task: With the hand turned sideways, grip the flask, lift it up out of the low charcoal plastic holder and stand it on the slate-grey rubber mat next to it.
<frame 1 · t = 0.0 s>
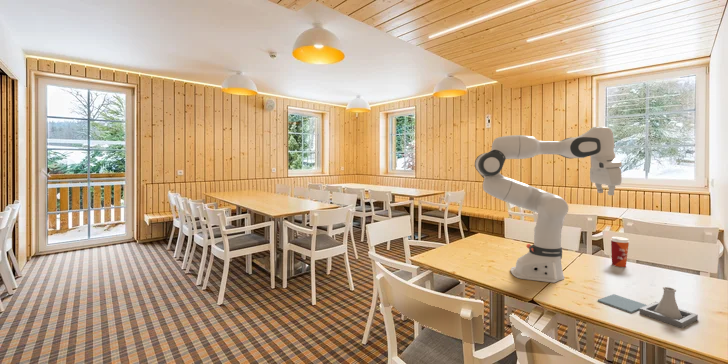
hand: (605, 194, 145), 39 cm above the table, tool pointing down, fingers open, 8 cm apart
holder: (667, 316, 113), on the table
flask: (667, 317, 113), resting in holder
paper cup: (618, 265, 165), on the table
mat: (621, 303, 123), on the table
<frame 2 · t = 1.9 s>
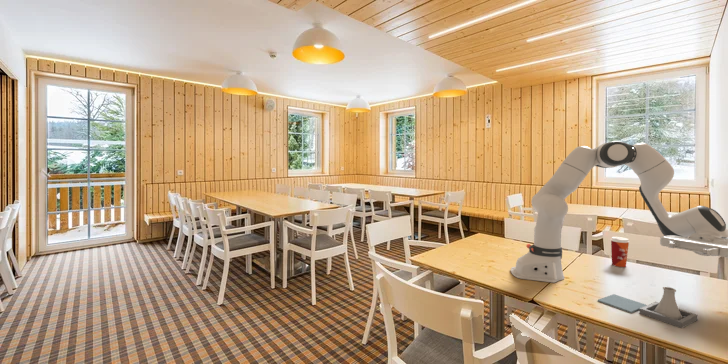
hand: (687, 248, 116), 22 cm above the table, tool horizontal, fingers open, 8 cm apart
nothing on the table moved.
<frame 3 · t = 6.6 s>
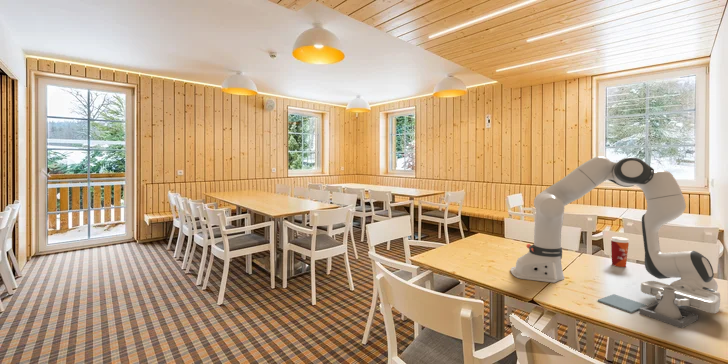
hand: (667, 300, 112), 6 cm above the table, tool horizontal, fingers closed on flask, 3 cm apart
flask: (667, 317, 113), resting in holder, touching gripper
everything else where it was.
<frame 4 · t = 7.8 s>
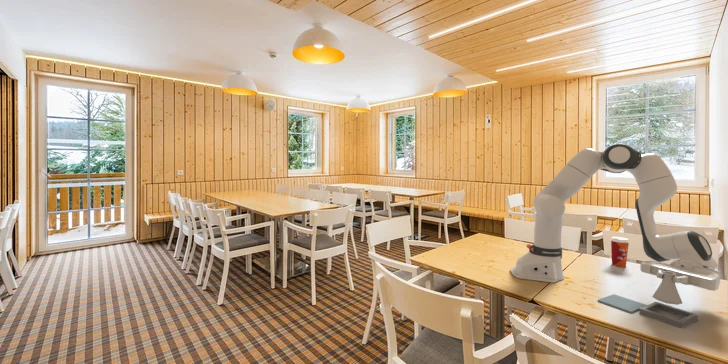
hand: (667, 277, 111), 14 cm above the table, tool horizontal, fingers closed on flask, 3 cm apart
flask: (667, 301, 112), point 5 cm above the table, touching gripper
everything else where it was.
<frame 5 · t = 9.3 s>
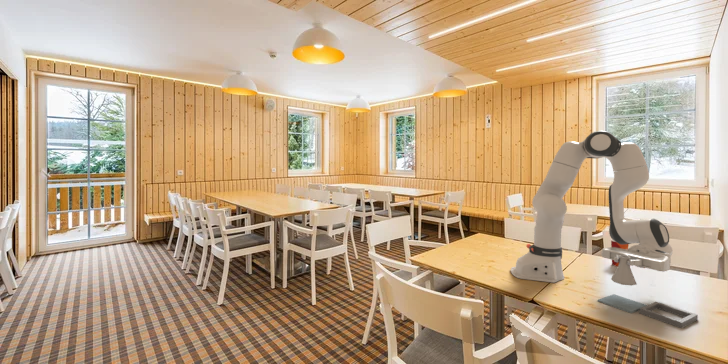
hand: (622, 261, 121), 17 cm above the table, tool horizontal, fingers closed on flask, 3 cm apart
flask: (623, 282, 122), point 8 cm above the table, touching gripper
everything else where it was.
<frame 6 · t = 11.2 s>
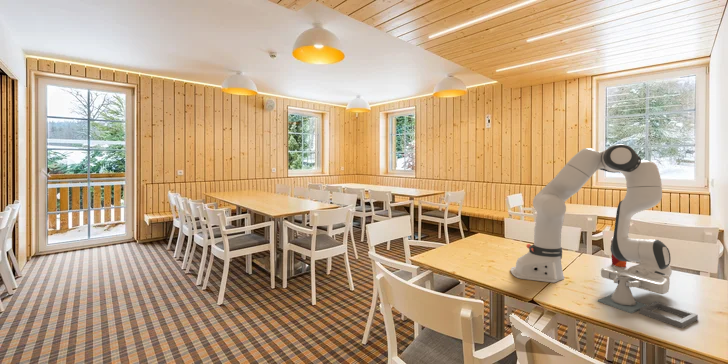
hand: (621, 282, 122), 8 cm above the table, tool horizontal, fingers closed on flask, 2 cm apart
flask: (623, 302, 123), resting on mat, touching gripper
everything else where it was.
when the fingers open (8 cm above the table, at t = 11.3 s): flask stays where it is, resting on mat.
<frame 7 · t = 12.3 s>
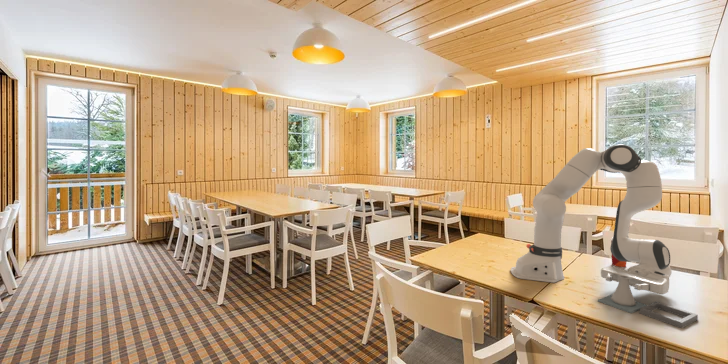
hand: (621, 283, 122), 8 cm above the table, tool horizontal, fingers open, 8 cm apart
flask: (623, 302, 123), resting on mat
everything else where it was.
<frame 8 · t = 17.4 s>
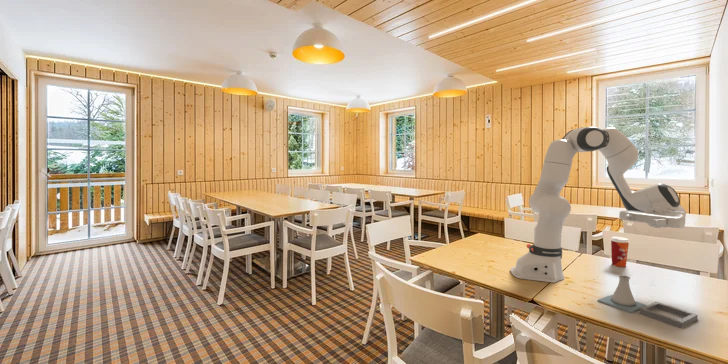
hand: (640, 220, 130), 30 cm above the table, tool horizontal, fingers open, 8 cm apart
nothing on the table moved.
at the end: flask inside the target area on the mat (0.4 cm from its centre), point 0.4 cm above the mat's base; flask tilted 0°; the gripper is holding nothing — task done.
